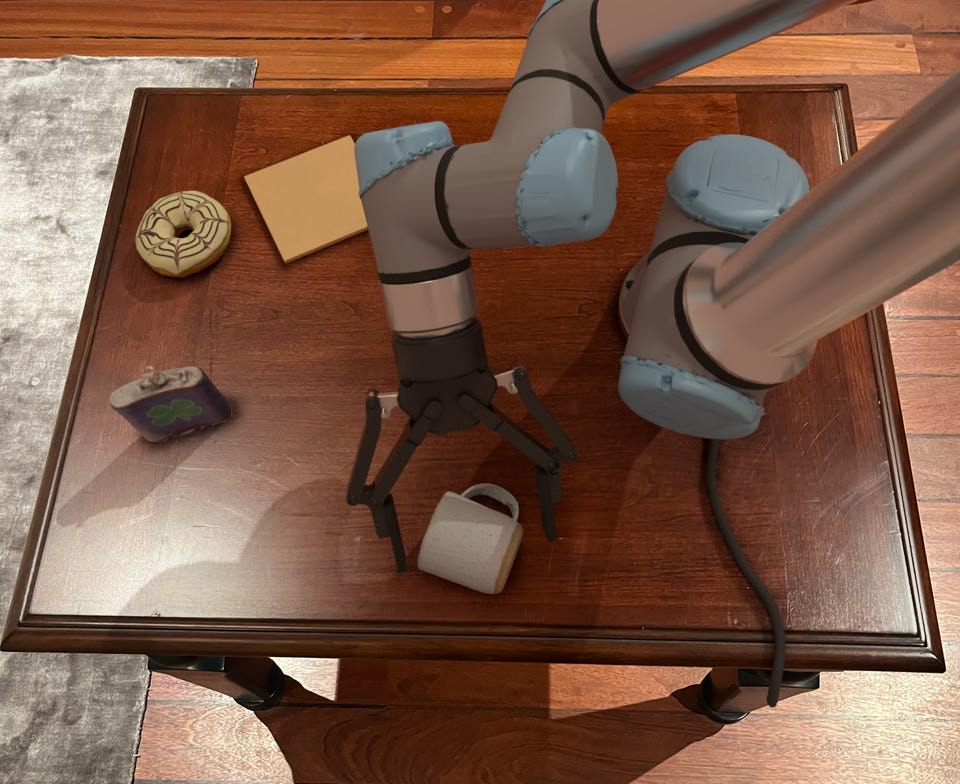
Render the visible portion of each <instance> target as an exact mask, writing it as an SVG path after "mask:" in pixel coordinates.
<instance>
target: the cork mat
mask: <svg viewBox="0 0 960 784" xmlns="http://www.w3.org/2000/svg"><path fill="white" fill-rule="evenodd" d="M355 144H356V142H354V139H353V138H352V136H351V134H349V135H346V136H344V137H341V138H338V139H337V140H333V141H331V142H329V143H326V144H323V145H320V146H317V147H315V148H312V149H311V150H308V151H306V152H305V151H304V152H303V153H300V154H297V155H295V156H293V157H290V158H288V159H285V160H282V161H280V162H277V163H275V164H272V165H269V166H267V167H265V168H262V169H259V170H256V171H254V172H251V173H250V174H247V175H244V176H243V179H244V181H245V182H246V185H247V187H248V188H249V189H248V190H249V191H250V193H251V195H252V198H253V199H254V201H255V203H256V205H257V207H258V210H259V212H260V213H261V216H262V218H263V220H264V222H265V224H266V226H267V228H268V231H269V233H270V235H271V237H272V239H273V242H274V244H275V245H276V248H277V250H278V252H279V254H280V256H281V259H282V260H283V262H284V264H286V265H287V264H289V263H291V262H294V261H296V260H299V259H301V258H303V257H306V256H308V255H311V254H312V253H315V252H317V251H320V250H322V249H325V248H327V247H329V246H332V245H334V244H337V243H339V242H342V241H344V240H346V239H349V238H351V237H354V236H356V235H358V234H361V233H363V232H365V231H369V230H368V226H367V222H366V218H365V214H364V210H363V206H362V202H361V199H360V198H359V182H358V175H357V168H356V161H355V154H354V147H355Z"/></svg>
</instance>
